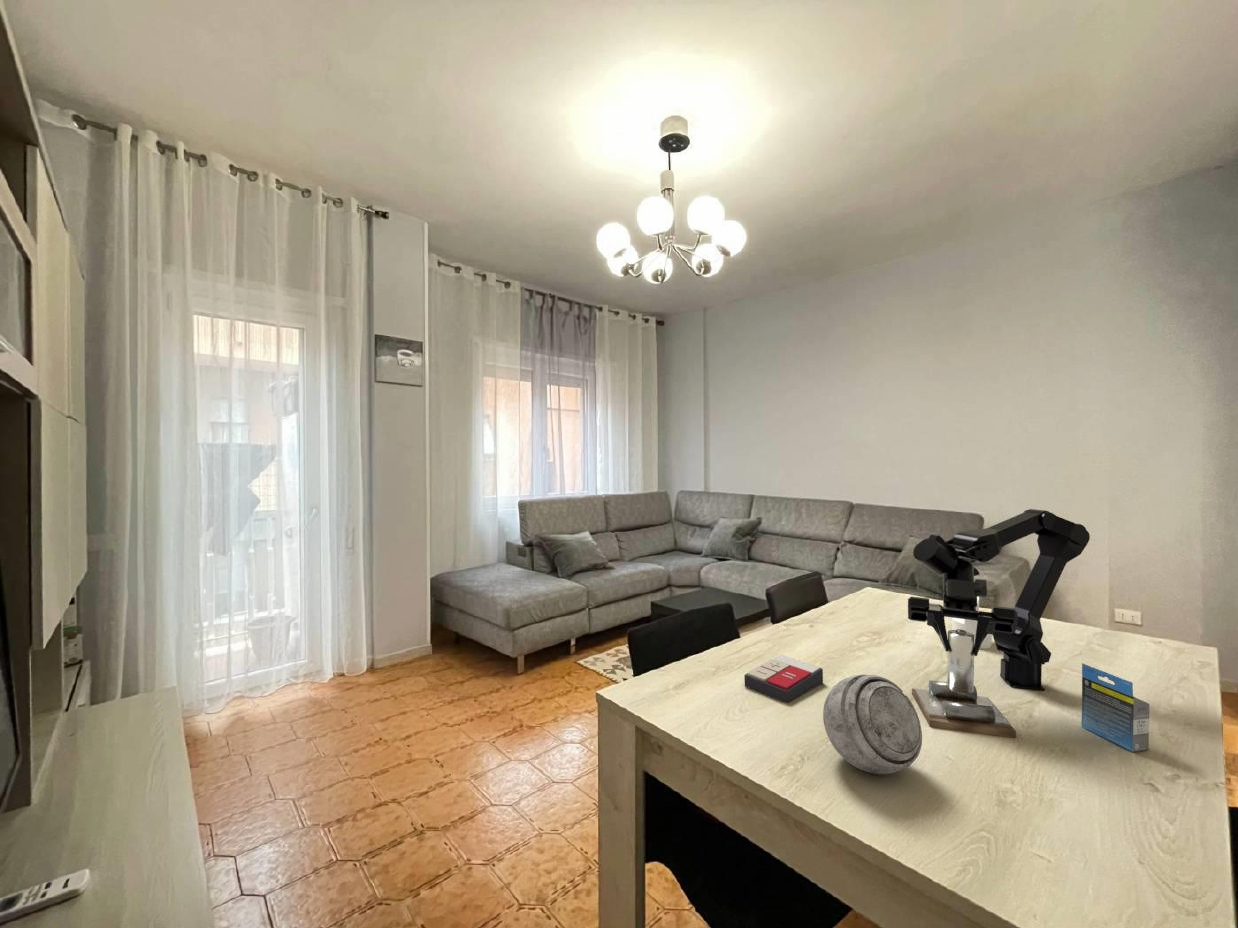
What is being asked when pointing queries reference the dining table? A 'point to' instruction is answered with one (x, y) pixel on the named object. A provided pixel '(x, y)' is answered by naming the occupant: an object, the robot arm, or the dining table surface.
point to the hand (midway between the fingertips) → (961, 652)
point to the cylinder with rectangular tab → (971, 628)
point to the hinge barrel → (960, 661)
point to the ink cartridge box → (1114, 710)
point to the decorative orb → (872, 724)
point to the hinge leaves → (959, 705)
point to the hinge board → (963, 721)
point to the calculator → (784, 678)
